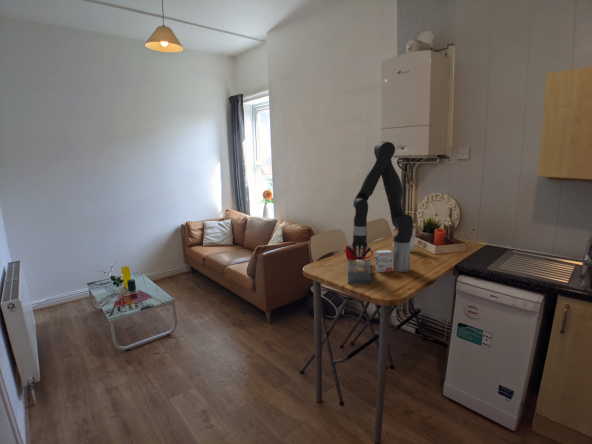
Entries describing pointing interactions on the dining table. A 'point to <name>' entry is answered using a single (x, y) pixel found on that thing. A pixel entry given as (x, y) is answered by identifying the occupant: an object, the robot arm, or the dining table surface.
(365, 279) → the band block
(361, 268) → the grey rectangular block
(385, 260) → the ink box
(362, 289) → the dining table surface
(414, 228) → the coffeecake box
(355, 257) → the ceramic cup
